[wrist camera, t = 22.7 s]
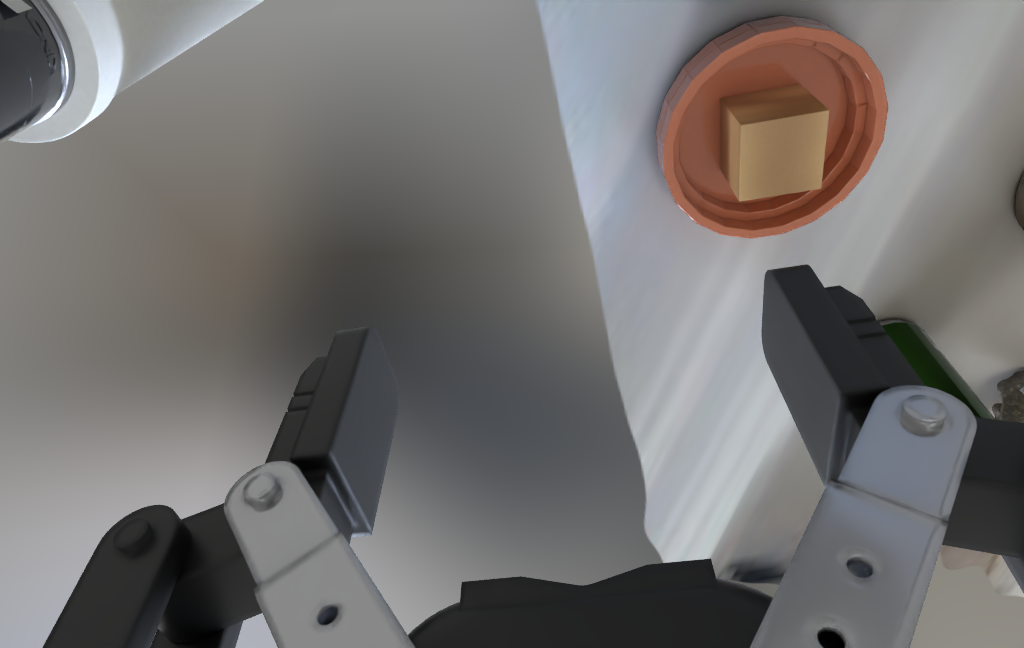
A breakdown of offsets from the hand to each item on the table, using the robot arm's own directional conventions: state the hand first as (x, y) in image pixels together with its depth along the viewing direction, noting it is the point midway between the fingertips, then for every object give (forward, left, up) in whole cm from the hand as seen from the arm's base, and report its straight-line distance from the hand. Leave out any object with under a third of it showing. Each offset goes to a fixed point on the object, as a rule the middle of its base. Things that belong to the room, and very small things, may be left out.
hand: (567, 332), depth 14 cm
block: (+12, -8, -28) cm, 31 cm away
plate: (+12, -8, -28) cm, 32 cm away
